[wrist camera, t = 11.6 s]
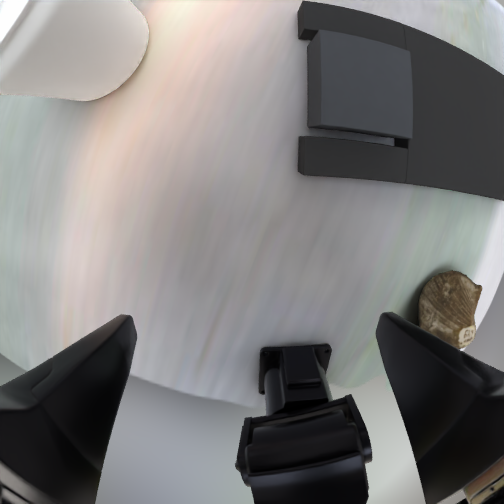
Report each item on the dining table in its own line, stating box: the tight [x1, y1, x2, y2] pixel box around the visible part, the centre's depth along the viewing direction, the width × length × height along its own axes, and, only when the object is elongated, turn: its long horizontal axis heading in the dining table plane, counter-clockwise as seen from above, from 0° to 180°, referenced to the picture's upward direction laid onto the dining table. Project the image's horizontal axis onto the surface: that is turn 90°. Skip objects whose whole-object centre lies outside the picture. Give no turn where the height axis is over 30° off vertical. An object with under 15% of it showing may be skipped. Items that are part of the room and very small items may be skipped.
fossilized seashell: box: [418, 270, 482, 349], centre depth 20 cm, size 8×7×10 cm
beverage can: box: [0, 0, 149, 101], centre depth 8 cm, size 8×8×12 cm
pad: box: [307, 30, 413, 139], centre depth 14 cm, size 6×6×4 cm
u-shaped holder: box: [298, 1, 504, 201], centre depth 15 cm, size 12×22×2 cm, turn 90°
